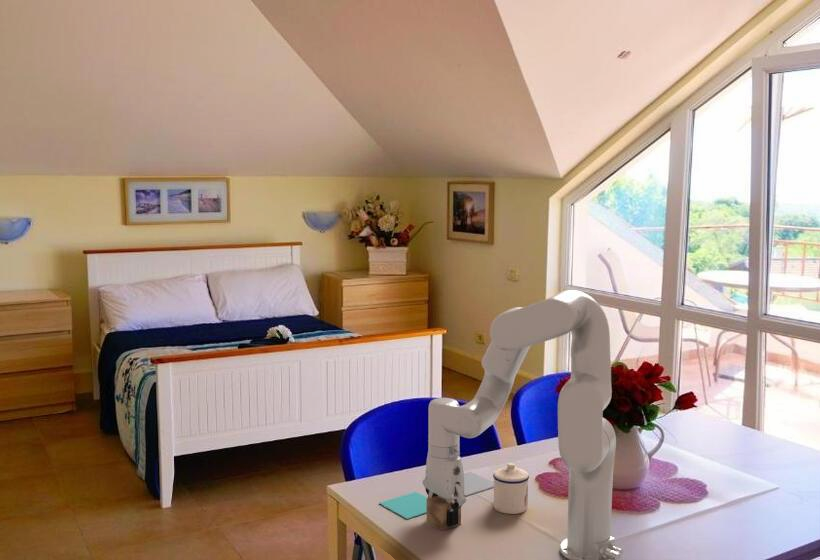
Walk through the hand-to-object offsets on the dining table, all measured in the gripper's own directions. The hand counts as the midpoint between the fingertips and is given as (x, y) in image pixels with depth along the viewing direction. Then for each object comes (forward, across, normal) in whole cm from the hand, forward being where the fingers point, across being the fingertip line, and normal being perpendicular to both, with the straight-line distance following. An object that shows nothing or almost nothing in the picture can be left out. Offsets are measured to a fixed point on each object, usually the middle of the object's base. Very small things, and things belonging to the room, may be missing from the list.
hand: (443, 519), depth 204 cm
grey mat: (+1, +15, -21) cm, 26 cm away
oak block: (+1, 0, 0) cm, 1 cm away
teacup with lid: (+1, -2, -20) cm, 20 cm away
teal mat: (+1, +13, 0) cm, 13 cm away
